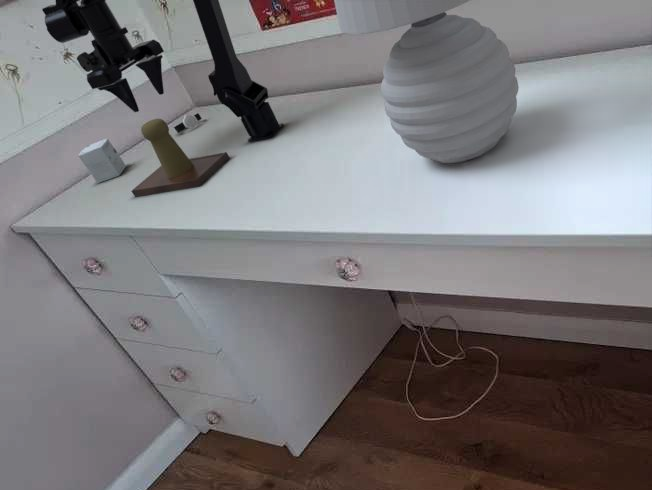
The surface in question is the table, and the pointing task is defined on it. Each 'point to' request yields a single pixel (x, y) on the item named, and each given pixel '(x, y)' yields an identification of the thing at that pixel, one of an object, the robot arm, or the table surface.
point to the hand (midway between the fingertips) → (149, 102)
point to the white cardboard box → (102, 160)
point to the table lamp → (439, 76)
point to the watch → (188, 122)
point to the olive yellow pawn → (166, 148)
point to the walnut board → (182, 176)
